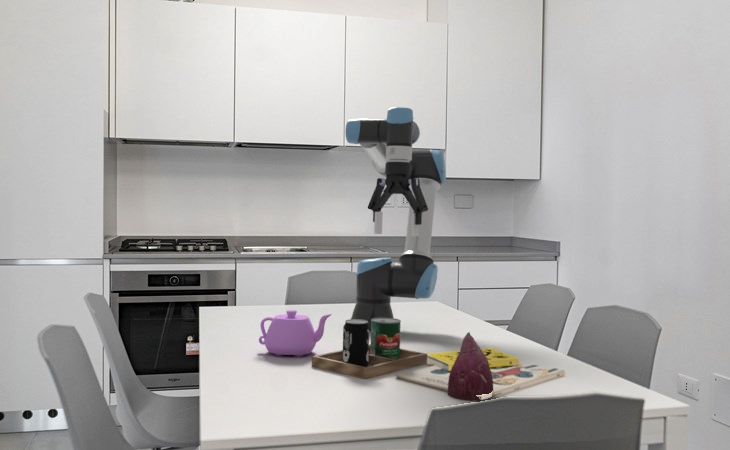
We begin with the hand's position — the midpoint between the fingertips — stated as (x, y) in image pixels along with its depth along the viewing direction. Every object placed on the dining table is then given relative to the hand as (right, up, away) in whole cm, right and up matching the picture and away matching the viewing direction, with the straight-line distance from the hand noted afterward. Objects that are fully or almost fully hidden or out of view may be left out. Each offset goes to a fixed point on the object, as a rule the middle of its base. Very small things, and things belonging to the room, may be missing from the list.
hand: (396, 235), depth 207 cm
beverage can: (-11, -33, -27) cm, 44 cm away
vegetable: (+14, -35, -49) cm, 62 cm away
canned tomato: (-4, -33, -18) cm, 38 cm away
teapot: (-28, -33, -11) cm, 45 cm away
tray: (-8, -33, -22) cm, 41 cm away
